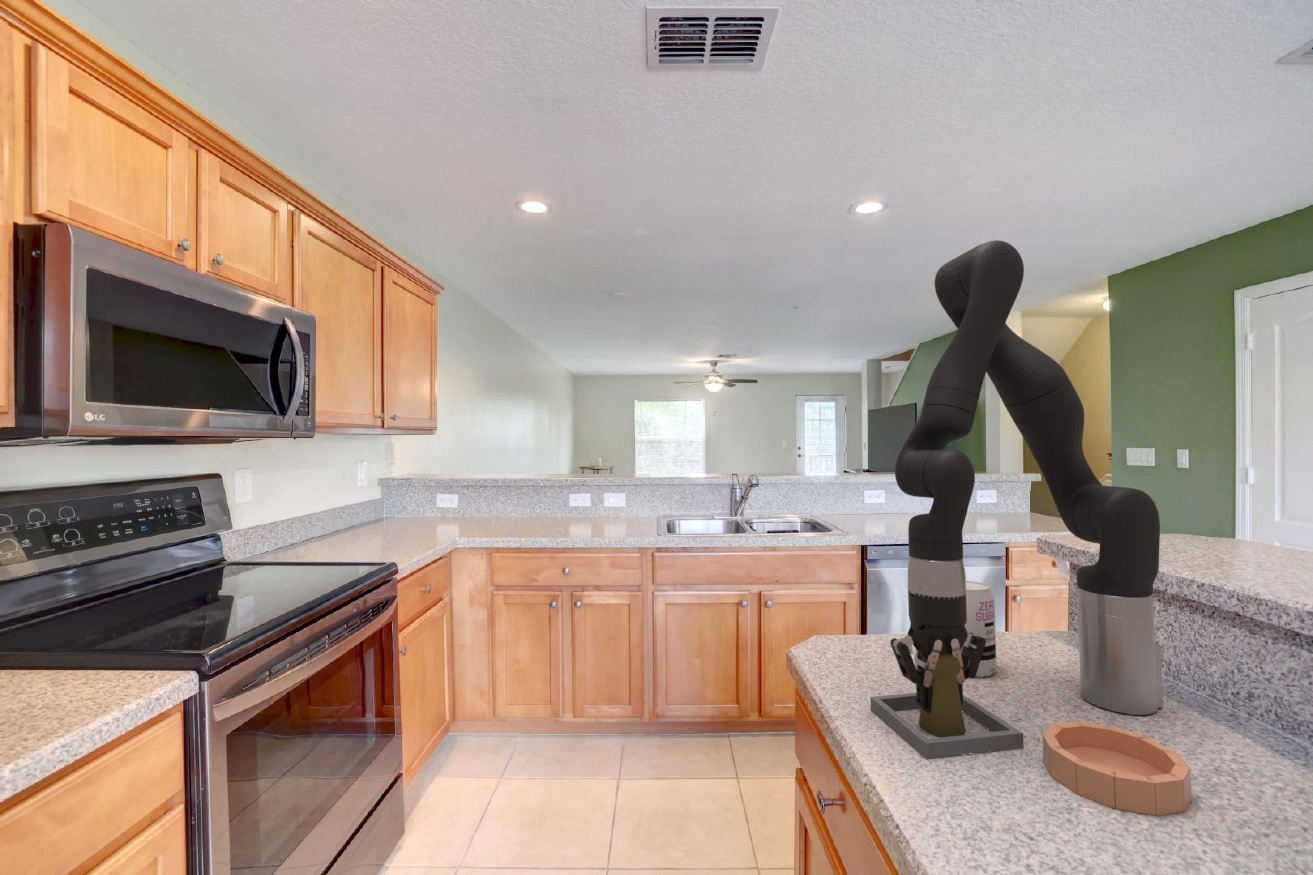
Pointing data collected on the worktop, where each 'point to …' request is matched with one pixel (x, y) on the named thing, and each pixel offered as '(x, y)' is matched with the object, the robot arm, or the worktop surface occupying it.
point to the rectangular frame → (995, 740)
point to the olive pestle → (944, 700)
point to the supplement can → (982, 623)
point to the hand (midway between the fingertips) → (939, 708)
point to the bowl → (1117, 768)
